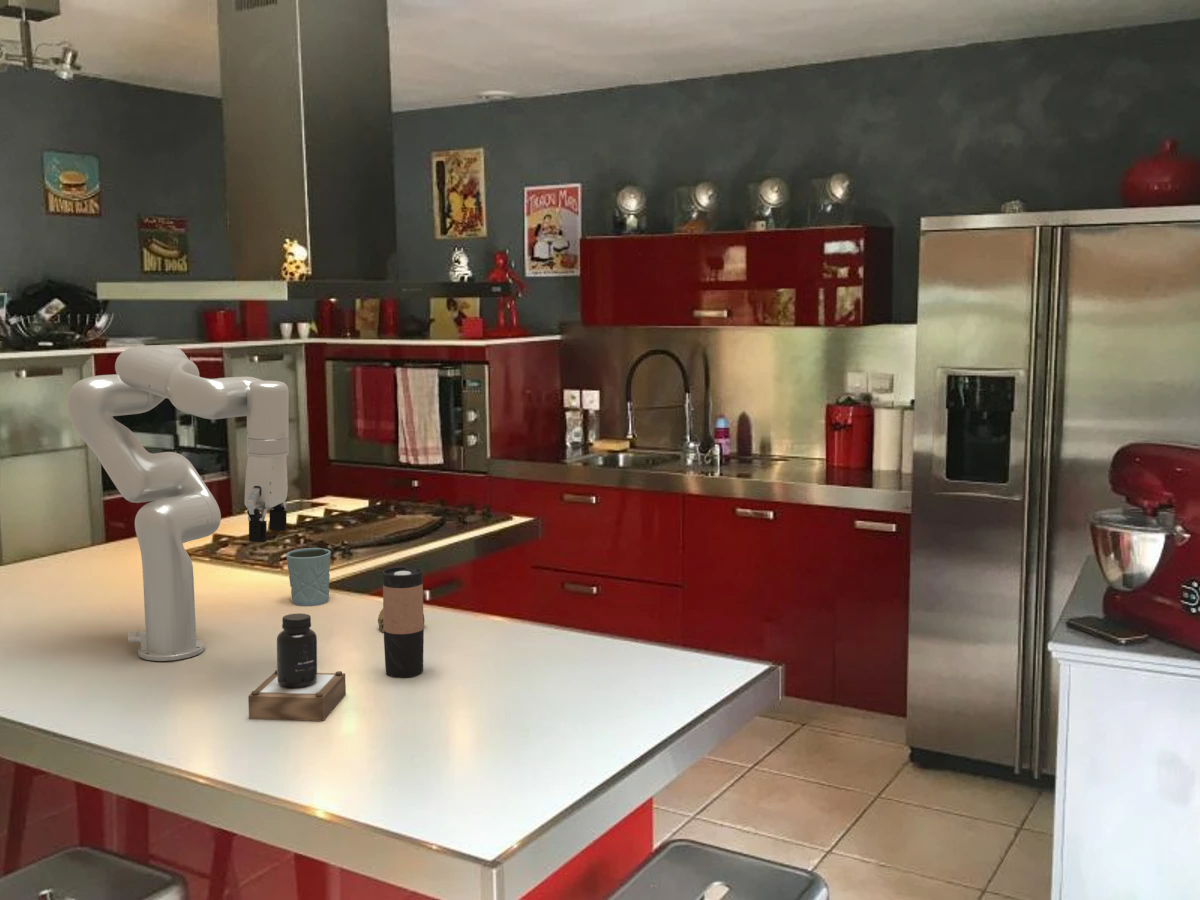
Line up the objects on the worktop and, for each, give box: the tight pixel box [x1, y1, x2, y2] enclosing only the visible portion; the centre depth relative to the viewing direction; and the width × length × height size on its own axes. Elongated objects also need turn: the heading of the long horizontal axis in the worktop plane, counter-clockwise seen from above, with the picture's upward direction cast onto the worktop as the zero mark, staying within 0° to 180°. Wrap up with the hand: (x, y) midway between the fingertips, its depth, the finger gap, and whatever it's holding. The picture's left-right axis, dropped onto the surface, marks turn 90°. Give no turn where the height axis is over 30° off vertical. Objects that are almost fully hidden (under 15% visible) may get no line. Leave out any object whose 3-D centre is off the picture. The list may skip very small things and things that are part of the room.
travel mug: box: [382, 566, 425, 679], centre depth 218 cm, size 8×8×20 cm
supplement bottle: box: [276, 613, 318, 688], centre depth 199 cm, size 7×7×12 cm
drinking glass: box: [285, 547, 332, 607], centre depth 269 cm, size 10×10×12 cm
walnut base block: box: [247, 669, 347, 722], centre depth 200 cm, size 13×13×4 cm
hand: (268, 535), depth 216 cm, fingers open, 9 cm apart
